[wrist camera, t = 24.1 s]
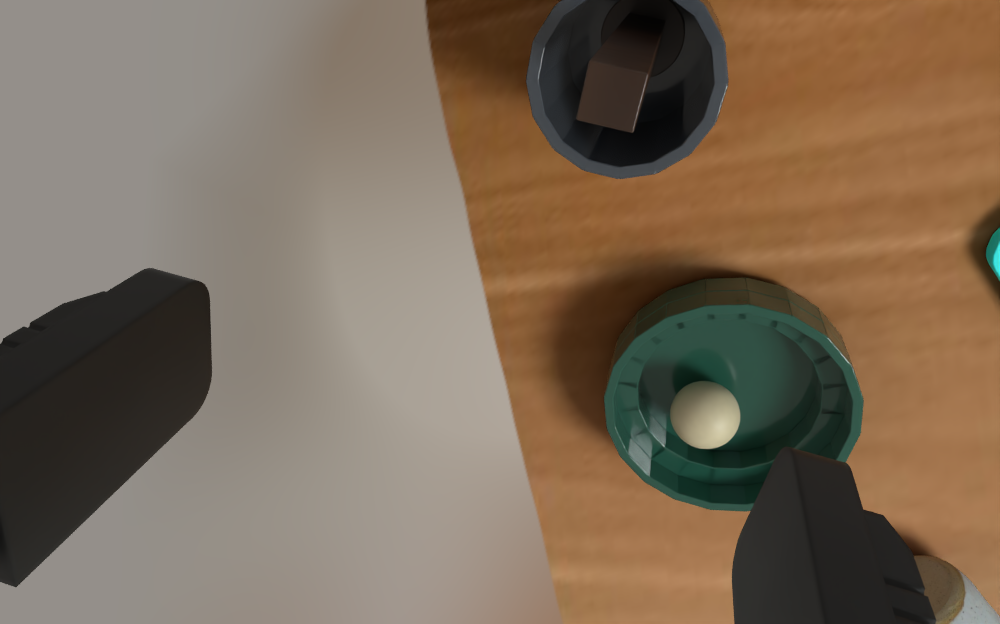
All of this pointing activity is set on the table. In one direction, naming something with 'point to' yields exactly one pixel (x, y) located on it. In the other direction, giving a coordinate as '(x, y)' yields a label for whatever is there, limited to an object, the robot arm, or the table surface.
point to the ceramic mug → (953, 594)
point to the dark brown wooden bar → (630, 60)
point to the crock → (667, 102)
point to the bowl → (730, 387)
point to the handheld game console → (994, 253)
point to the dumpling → (705, 414)
